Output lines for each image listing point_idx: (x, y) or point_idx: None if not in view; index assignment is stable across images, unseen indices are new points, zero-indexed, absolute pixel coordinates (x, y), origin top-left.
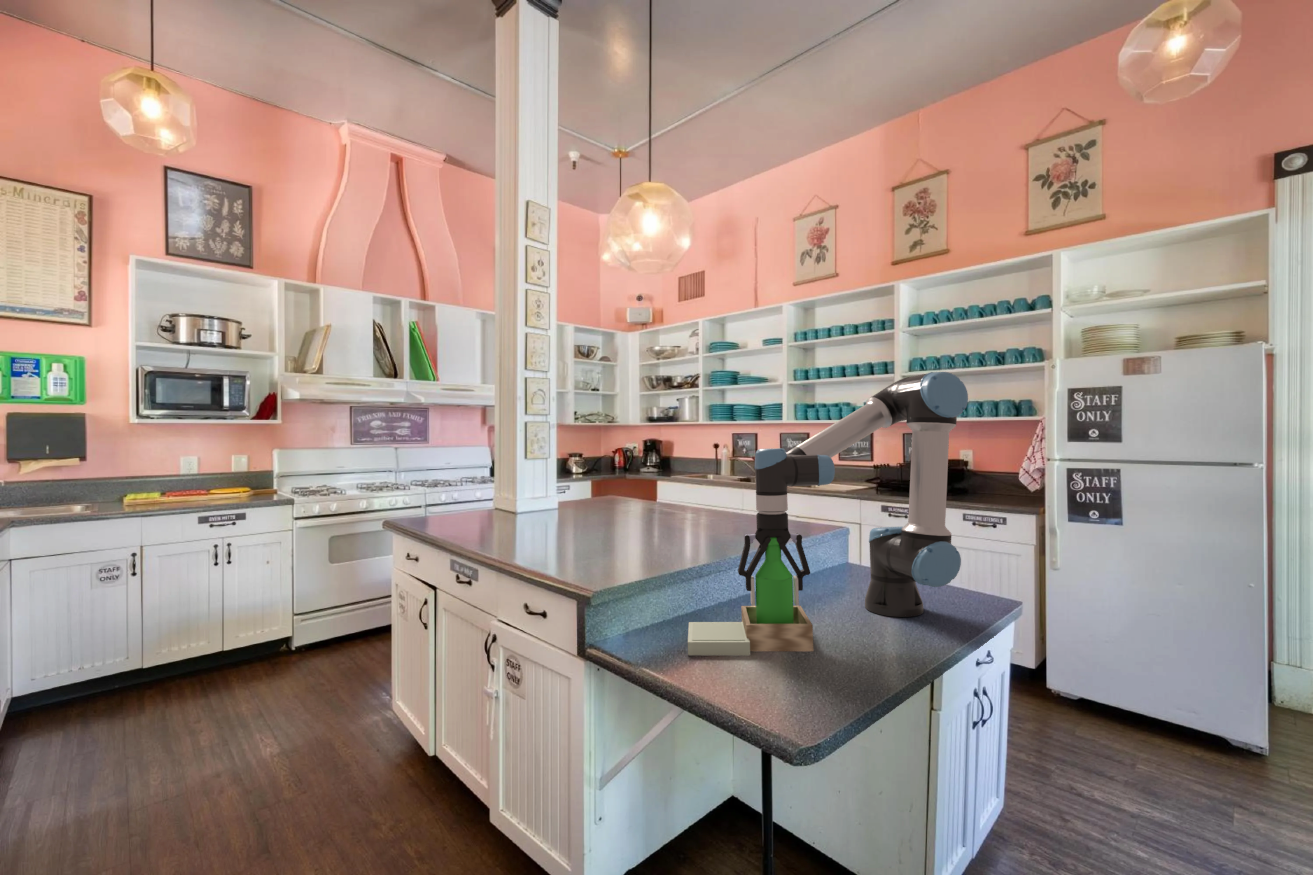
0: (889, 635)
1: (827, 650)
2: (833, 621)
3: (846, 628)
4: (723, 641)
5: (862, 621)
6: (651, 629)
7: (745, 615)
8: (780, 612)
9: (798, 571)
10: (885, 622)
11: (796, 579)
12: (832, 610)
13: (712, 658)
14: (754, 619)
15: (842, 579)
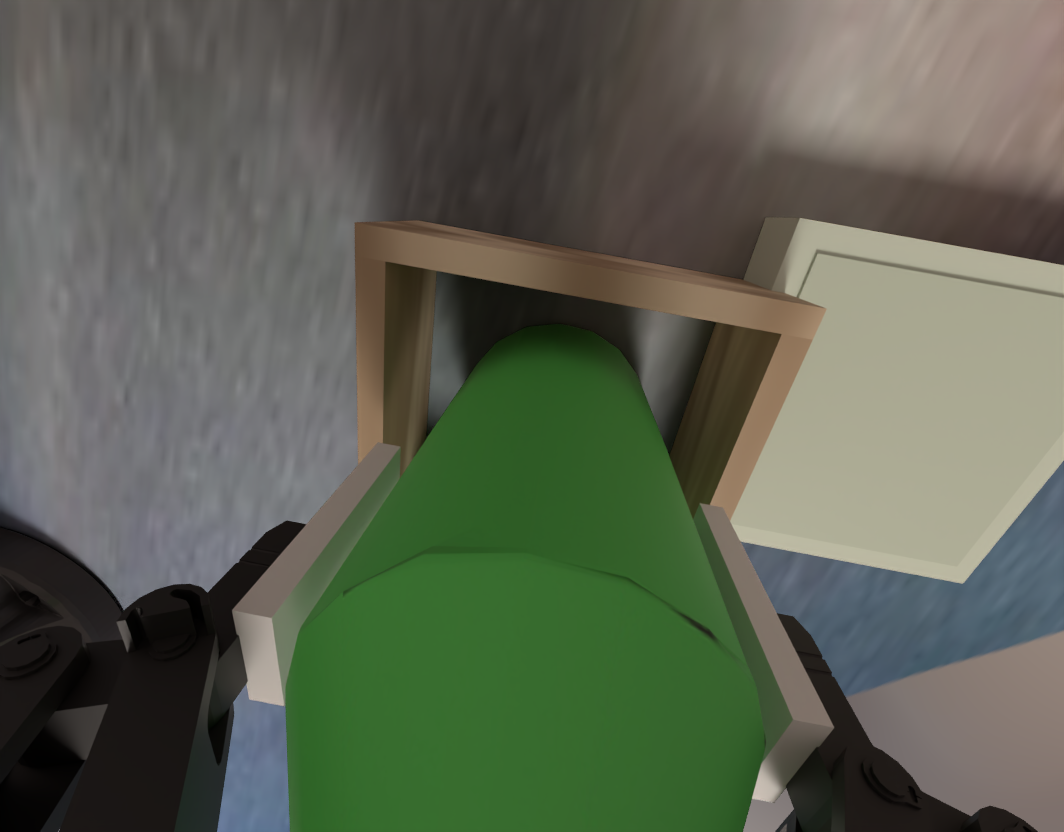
0: (47, 359)
1: (345, 222)
2: None
3: (219, 467)
4: (959, 262)
5: (149, 521)
6: (1053, 618)
7: (731, 492)
8: (543, 375)
9: (149, 701)
10: (62, 494)
11: (263, 602)
12: None
13: (997, 208)
14: None
15: None
